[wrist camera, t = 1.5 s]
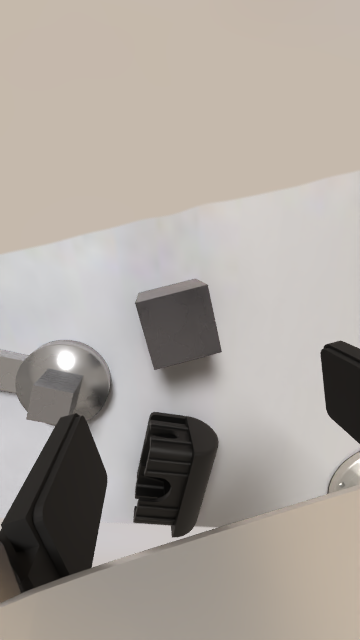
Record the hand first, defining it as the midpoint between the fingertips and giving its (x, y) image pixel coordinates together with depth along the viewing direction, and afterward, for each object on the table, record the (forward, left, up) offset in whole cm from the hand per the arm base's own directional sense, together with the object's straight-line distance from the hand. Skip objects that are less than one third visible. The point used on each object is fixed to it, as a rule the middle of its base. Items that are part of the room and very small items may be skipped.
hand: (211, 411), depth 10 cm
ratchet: (+15, +10, -18) cm, 26 cm away
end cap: (-5, +16, -19) cm, 25 cm away
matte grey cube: (0, 0, -18) cm, 18 cm away
